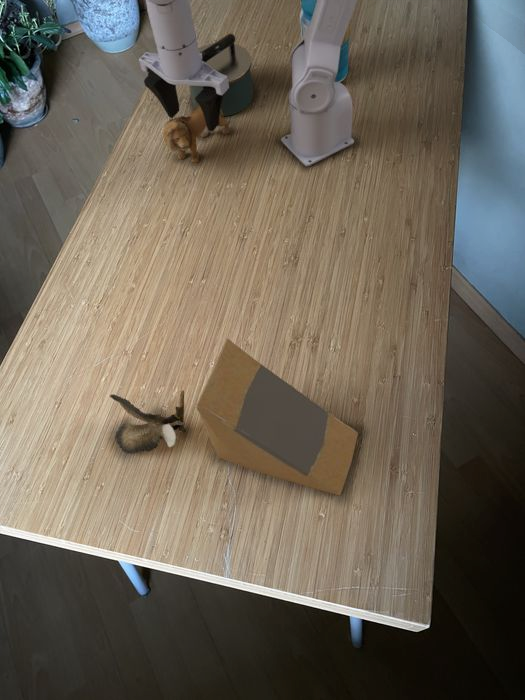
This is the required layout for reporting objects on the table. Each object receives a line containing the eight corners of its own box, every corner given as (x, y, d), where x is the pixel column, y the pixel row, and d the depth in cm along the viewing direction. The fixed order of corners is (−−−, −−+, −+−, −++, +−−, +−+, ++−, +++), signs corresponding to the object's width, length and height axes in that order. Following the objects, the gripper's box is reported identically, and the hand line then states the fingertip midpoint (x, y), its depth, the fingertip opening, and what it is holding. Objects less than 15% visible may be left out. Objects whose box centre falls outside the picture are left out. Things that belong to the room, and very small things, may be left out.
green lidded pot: (268, 92, 105) (263, 40, 97) (221, 127, 101) (212, 75, 93) (223, 68, 110) (215, 16, 101) (177, 100, 106) (165, 49, 98)
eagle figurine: (184, 387, 75) (111, 389, 74) (184, 392, 68) (104, 395, 67) (185, 446, 75) (113, 450, 74) (186, 458, 68) (106, 462, 67)
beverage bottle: (308, 93, 104) (306, -26, 87) (296, 65, 108) (291, -54, 91) (354, 82, 104) (361, -39, 87) (340, 55, 109) (344, -65, 92)
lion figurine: (191, 180, 96) (179, 135, 88) (164, 171, 97) (150, 125, 89) (236, 124, 101) (230, 77, 94) (210, 116, 103) (202, 69, 95)
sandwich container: (341, 498, 67) (345, 451, 54) (217, 459, 71) (194, 406, 58) (360, 431, 71) (368, 372, 58) (242, 398, 75) (225, 335, 62)
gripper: (234, 34, 81) (245, 117, 93) (150, 11, 86) (171, 93, 97) (207, 63, 78) (221, 145, 90) (121, 38, 83) (146, 119, 95)
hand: (193, 120), depth 94 cm, fingers open, 7 cm apart
